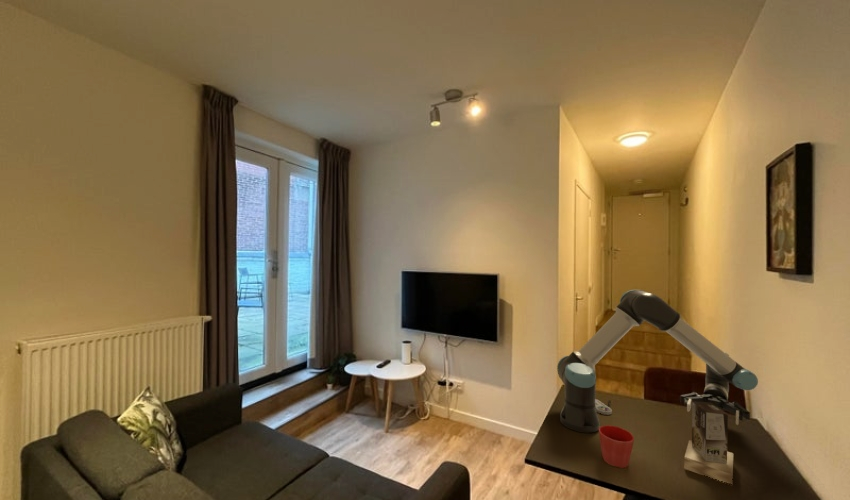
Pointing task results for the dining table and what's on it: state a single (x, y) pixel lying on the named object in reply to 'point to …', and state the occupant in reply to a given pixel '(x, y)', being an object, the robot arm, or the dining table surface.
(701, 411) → the coffee box
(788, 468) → the dining table surface
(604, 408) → the game controller
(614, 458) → the flower pot
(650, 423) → the dining table surface
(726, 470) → the stand
